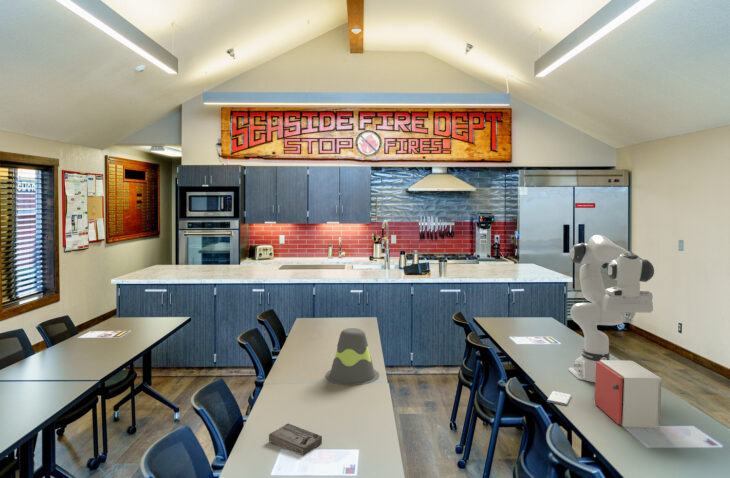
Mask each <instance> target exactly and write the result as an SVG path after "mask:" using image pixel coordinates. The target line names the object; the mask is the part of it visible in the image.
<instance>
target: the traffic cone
mask: <svg viewBox="0 0 730 478" xmlns="http://www.w3.org/2000/svg"><path fill="white" fill-rule="evenodd" d="M336 347H337V348H336V351H335V355H334V359H333V361H332V364H331V367H330V368H331V369H330V370H328V371H327V372H326V373H325V378H326V379H327V381H329V382H330V383H333V384H336V385H341V386H362V385H368V384H371V383H373V382H375V381H377V380H378V379H379V378H380V373H379V371H377V370H375V368H374V364H373V360H372V357H371V354H370V350H369V343H368V340H367V336H366V333H365V331H364V330H363V329H361V328H357V327H356V328H355V327H352V328H344V329H343V330H342V331H341V332H340V334H339V338H338V342H337V345H336Z"/></svg>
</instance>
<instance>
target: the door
mask: <svg viewBox="0 0 730 478" xmlns="http://www.w3.org/2000/svg"><path fill="white" fill-rule="evenodd" d="M594 383H595V384H594V385H595V386H594V404H595V405H596V406H597V407H598V408H599V409H600V410H601V411H603V413H605V414H606V415H607V416H608V417H610V419H612V420H613V422H614V423H616V424H617V425H618V426H619V425H620V426H622V425H621V412H622V386H623V378H622V377H621V376H619V375H618V374H616V373H615V372H613V371H612V370H610V369H609V368H608V367H606V366H605V365H603V364H602V363H600V362H599V361H596V380H595V382H594Z"/></svg>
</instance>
